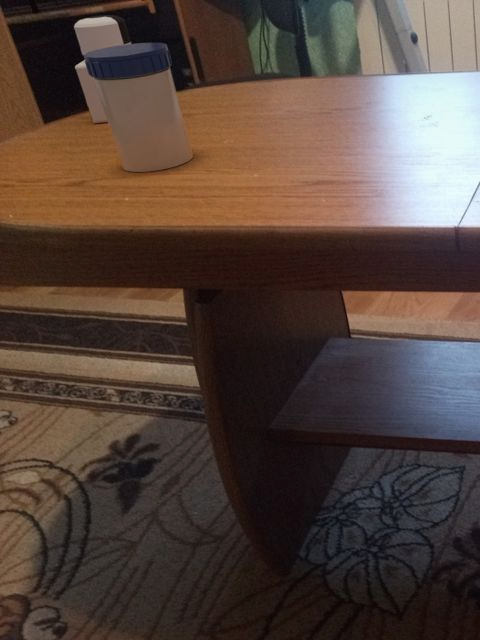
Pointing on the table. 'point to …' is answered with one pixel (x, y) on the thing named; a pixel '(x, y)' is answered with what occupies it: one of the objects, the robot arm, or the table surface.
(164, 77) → the jar
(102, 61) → the jar lid
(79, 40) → the medicine bottle
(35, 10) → the robot arm
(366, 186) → the table surface
